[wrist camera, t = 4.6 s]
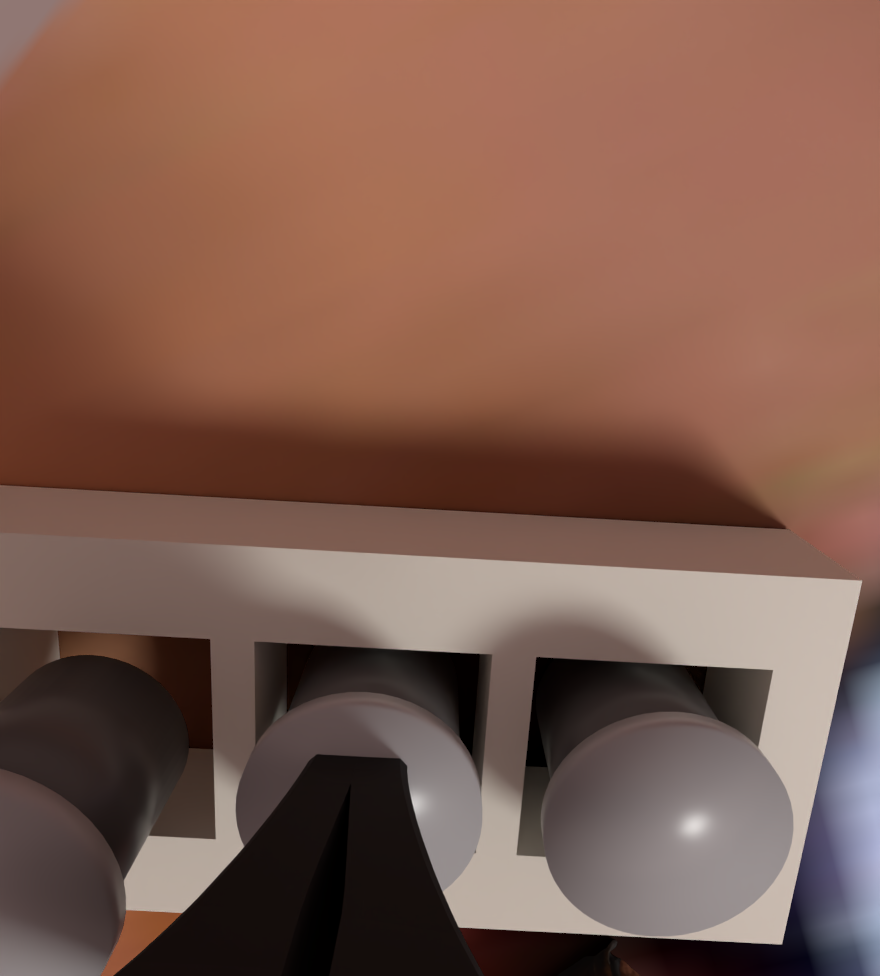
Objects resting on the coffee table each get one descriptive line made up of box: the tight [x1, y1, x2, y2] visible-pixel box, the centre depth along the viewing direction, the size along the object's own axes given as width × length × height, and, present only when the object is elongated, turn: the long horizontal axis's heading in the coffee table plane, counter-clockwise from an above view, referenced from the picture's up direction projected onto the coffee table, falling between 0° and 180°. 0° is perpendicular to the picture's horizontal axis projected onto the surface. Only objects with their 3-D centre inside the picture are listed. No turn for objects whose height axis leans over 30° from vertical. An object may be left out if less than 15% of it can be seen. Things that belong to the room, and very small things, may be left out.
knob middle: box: [235, 645, 482, 891], centre depth 12 cm, size 4×4×4 cm
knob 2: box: [536, 658, 794, 936], centre depth 12 cm, size 4×4×4 cm
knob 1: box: [0, 655, 189, 976], centre depth 10 cm, size 4×4×4 cm
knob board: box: [0, 485, 862, 944], centre depth 13 cm, size 15×7×2 cm, turn 87°
